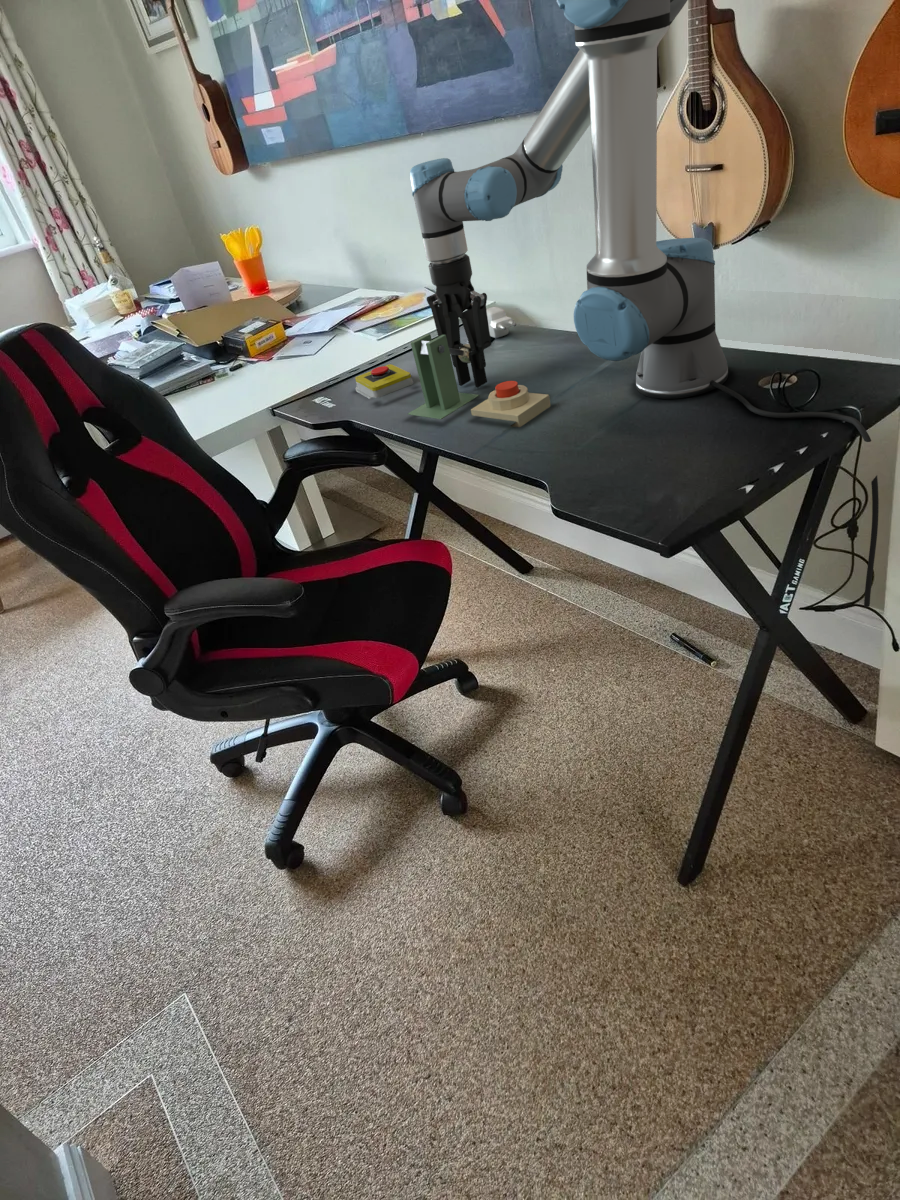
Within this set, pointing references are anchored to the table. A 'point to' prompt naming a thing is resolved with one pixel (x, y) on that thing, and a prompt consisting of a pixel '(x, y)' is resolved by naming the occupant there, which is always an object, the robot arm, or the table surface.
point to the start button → (507, 389)
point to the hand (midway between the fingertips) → (473, 383)
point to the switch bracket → (437, 379)
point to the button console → (513, 406)
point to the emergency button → (382, 381)
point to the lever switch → (452, 351)
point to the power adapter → (498, 322)
